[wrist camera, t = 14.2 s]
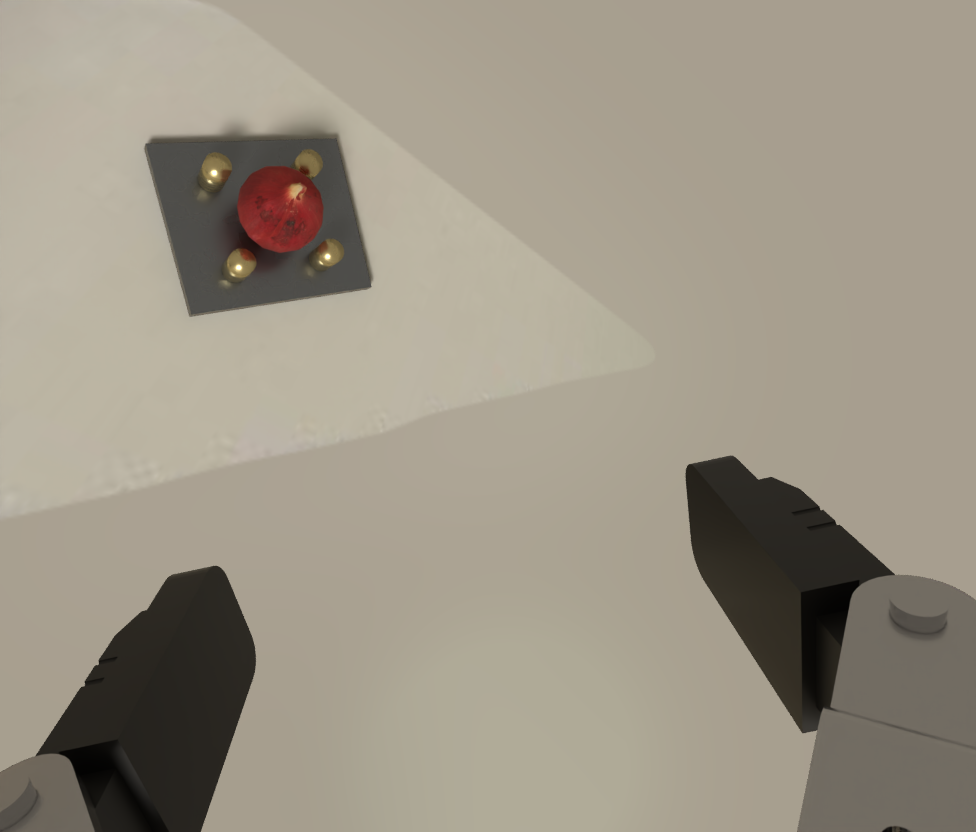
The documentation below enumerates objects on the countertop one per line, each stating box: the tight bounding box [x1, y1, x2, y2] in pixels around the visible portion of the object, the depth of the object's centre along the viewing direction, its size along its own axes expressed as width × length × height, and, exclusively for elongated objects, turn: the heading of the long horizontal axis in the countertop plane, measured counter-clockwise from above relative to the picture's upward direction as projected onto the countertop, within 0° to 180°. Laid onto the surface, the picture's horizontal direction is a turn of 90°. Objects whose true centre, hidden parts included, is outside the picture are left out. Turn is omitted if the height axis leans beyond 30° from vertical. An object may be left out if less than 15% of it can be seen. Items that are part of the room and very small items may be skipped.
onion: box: [237, 166, 324, 253], centre depth 46 cm, size 6×6×8 cm
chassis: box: [145, 139, 371, 317], centre depth 49 cm, size 14×12×4 cm
